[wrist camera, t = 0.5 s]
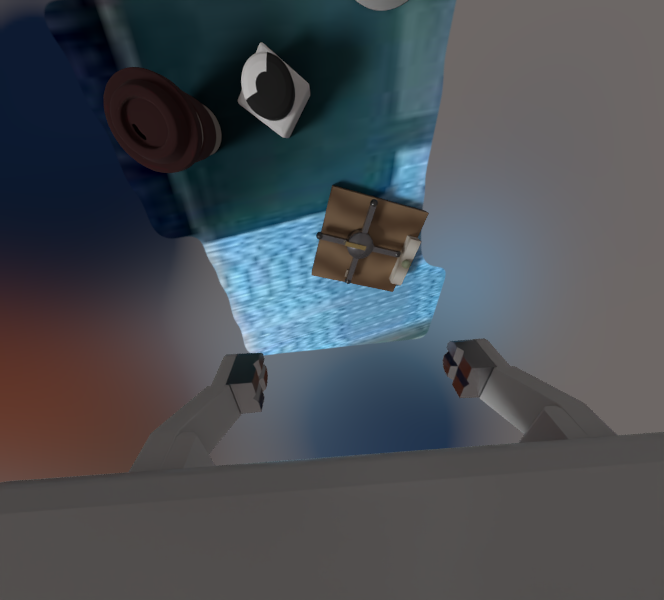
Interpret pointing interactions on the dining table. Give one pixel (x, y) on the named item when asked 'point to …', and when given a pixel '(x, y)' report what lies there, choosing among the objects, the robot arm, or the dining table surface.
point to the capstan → (359, 242)
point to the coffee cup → (159, 121)
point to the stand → (385, 230)
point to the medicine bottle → (273, 91)
